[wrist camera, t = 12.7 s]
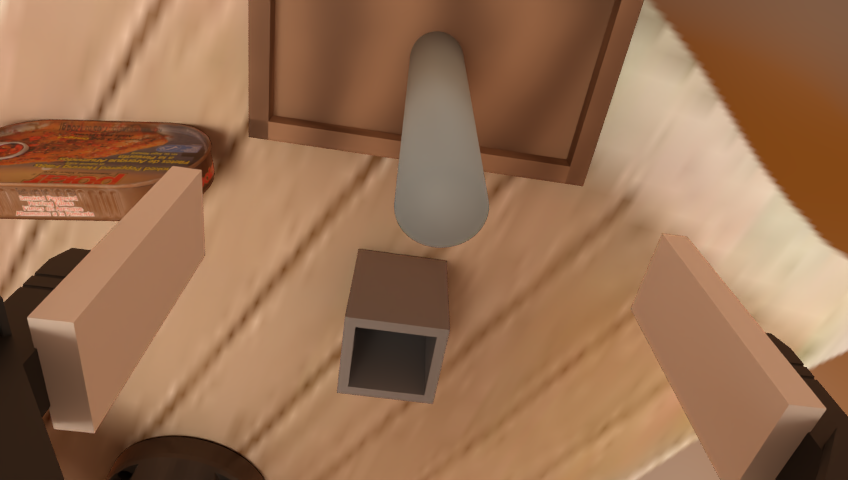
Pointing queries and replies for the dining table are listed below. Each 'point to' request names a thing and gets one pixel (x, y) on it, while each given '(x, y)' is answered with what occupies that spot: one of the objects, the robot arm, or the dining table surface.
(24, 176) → the tin
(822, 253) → the dining table surface
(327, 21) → the tray
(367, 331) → the cup
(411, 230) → the dowel
